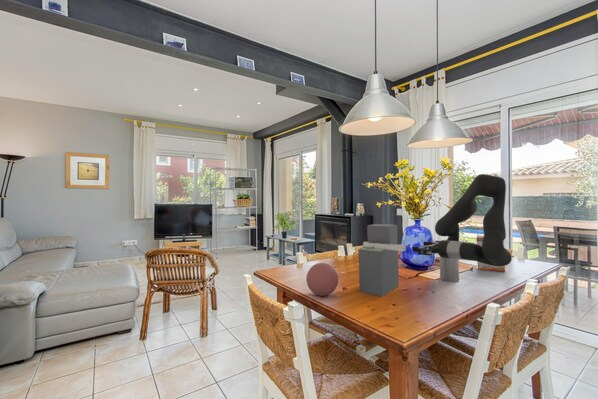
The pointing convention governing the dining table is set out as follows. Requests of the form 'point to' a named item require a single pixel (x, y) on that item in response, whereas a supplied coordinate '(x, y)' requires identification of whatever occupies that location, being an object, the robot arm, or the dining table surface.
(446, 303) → the dining table surface
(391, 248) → the flanged bar
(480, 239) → the cracker box
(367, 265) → the stepped shelf
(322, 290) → the mauve oval ball
